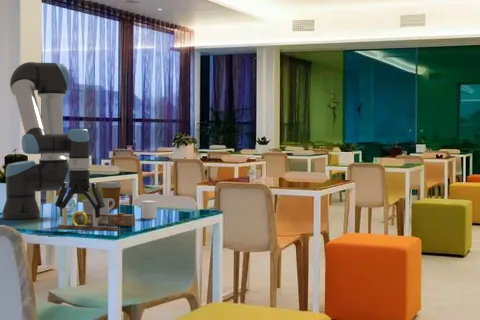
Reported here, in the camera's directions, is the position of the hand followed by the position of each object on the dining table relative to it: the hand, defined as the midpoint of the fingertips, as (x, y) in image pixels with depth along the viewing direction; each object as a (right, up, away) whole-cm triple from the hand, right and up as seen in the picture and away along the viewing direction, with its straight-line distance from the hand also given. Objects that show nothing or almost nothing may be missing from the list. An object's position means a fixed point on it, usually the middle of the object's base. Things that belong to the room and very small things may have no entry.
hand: (80, 225), depth 271 cm
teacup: (+3, +1, +24) cm, 24 cm away
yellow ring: (0, 0, 0) cm, 0 cm away
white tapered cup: (+23, +1, +24) cm, 33 cm away
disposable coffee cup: (+2, +3, +57) cm, 57 cm away
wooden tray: (+7, 0, -1) cm, 7 cm away
